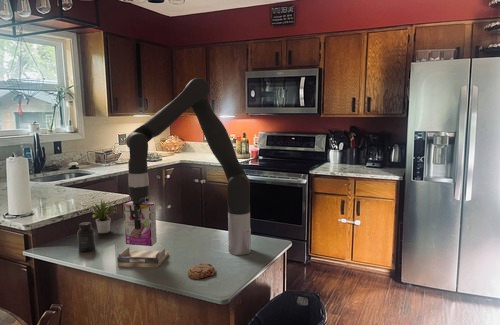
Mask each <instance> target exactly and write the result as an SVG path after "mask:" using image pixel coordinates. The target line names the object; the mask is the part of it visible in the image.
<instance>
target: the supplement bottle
mask: <svg viewBox="0 0 500 325" xmlns="http://www.w3.org/2000/svg"><path fill="white" fill-rule="evenodd" d="M78 228H79V229H78V231H77V248H78V252H79V253H90V252H94V251H95V250H96V239H95V238H96V236H95V235H96V234H95V229H94V228H93V227H92V222H91V221H84V222H81V223H79V225H78Z"/></svg>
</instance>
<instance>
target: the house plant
mask: <svg viewBox="0 0 500 325" xmlns="http://www.w3.org/2000/svg"><path fill="white" fill-rule="evenodd" d="M102 200H103V199H101V200H100V206H99V205H98V204H97V203H93V205H90V206H89V205H88V207H89V208H90V207H91V208H92V209H93V211H91V213H94V214H92V215H91V217H93V218H96V217H97V219H95V223H96V228H97V232H98V234H107V233H109V232H110V231H111V230H110V228H111V218H110V217H109V216H110V215H114V214H116V211H114V210H115V209H116V207H113V206H115V205H117V204H114V203H115V201H114V202H111V203H110V204H109V205H108V203H109V202H110V200H108V201H105V200H103V201H102ZM105 202H106V203H105ZM107 205H108V206H107ZM106 207H107V208H106ZM111 207H112V208H111Z"/></svg>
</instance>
